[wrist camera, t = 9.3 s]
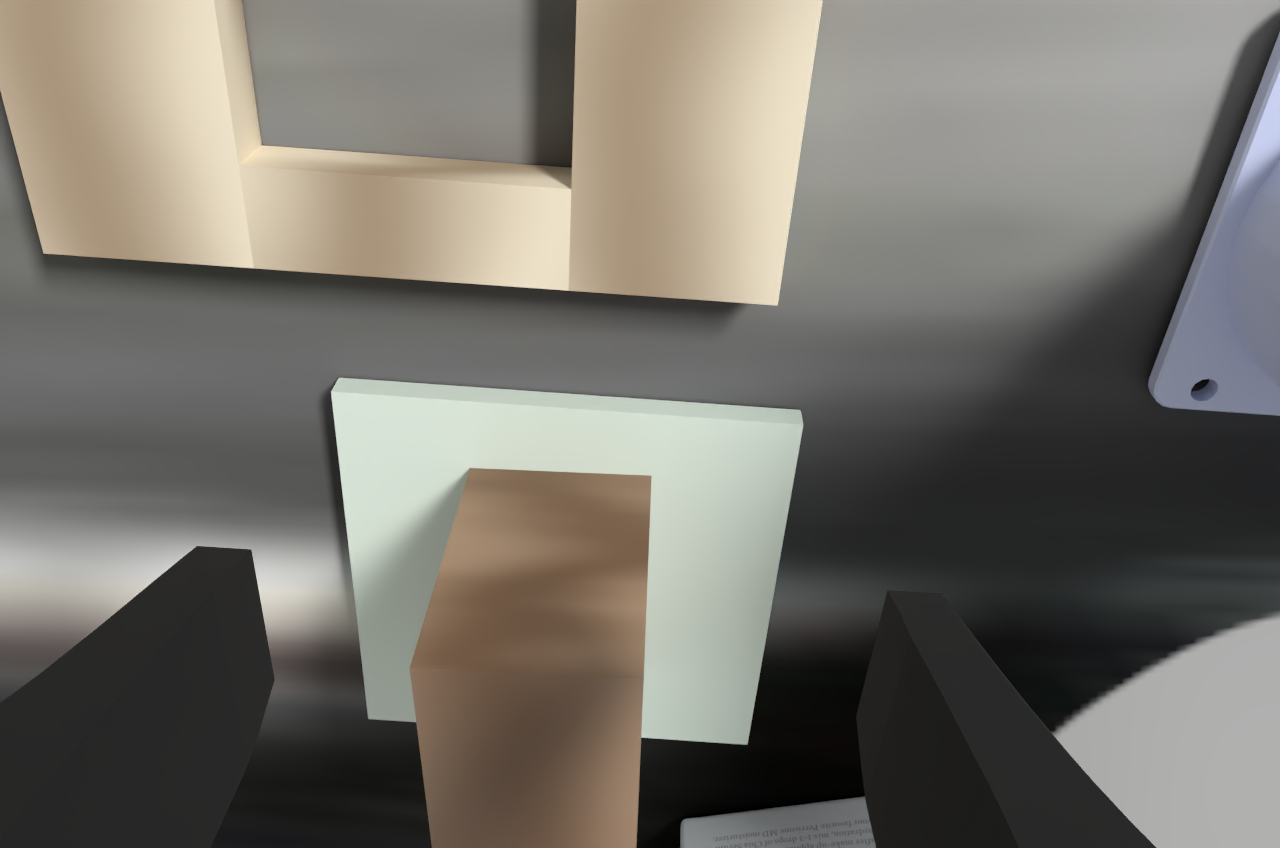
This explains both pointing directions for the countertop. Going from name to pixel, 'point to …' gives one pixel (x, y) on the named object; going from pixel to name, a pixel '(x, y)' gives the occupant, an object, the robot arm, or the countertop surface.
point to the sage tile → (584, 443)
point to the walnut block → (536, 663)
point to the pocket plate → (421, 186)
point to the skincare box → (784, 827)
